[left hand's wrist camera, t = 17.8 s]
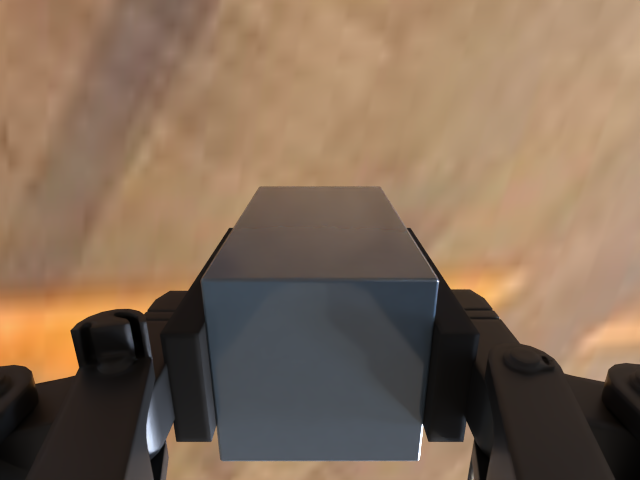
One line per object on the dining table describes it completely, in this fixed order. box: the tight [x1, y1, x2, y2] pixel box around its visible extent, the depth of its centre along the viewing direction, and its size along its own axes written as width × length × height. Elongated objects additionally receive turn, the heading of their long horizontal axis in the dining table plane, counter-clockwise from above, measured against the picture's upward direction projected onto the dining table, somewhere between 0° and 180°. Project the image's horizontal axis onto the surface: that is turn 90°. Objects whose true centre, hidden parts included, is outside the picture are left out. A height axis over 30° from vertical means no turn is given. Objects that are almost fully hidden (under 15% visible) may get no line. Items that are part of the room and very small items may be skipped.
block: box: [201, 187, 439, 461], centre depth 13 cm, size 5×5×8 cm
